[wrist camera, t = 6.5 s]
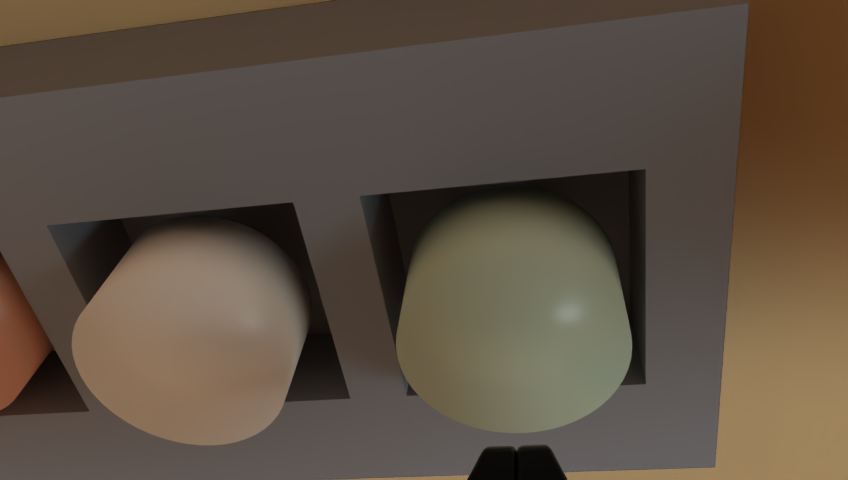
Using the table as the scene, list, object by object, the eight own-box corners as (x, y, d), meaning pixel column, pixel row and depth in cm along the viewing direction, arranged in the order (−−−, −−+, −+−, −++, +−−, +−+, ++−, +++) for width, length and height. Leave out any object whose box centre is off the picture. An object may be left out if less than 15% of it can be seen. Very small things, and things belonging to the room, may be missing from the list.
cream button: (284, 206, 13) (251, 275, 11) (331, 362, 15) (309, 441, 13) (93, 224, 13) (34, 292, 12) (162, 372, 15) (120, 449, 14)
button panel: (700, -51, 12) (748, 3, 10) (684, 361, 17) (715, 467, 15) (-231, 78, 15) (-375, 145, 13) (-20, 398, 20) (-95, 492, 17)
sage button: (613, 175, 12) (631, 245, 10) (618, 347, 14) (633, 428, 12) (393, 196, 13) (376, 265, 11) (426, 357, 14) (416, 437, 13)
